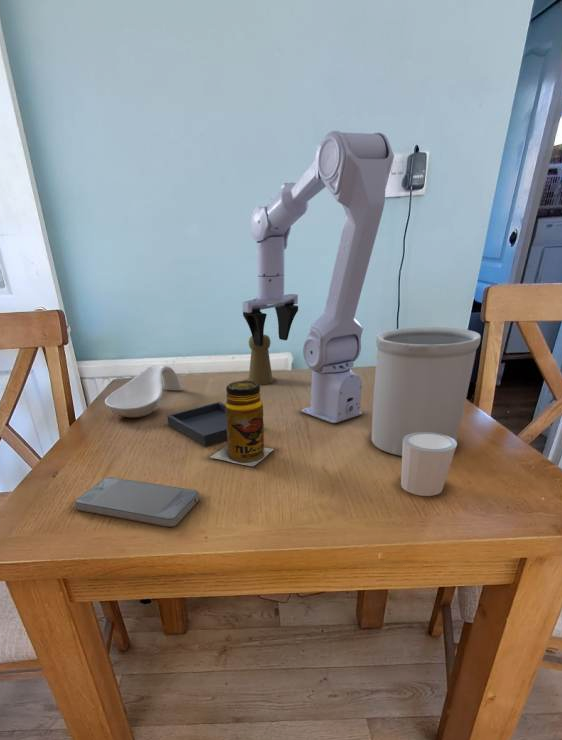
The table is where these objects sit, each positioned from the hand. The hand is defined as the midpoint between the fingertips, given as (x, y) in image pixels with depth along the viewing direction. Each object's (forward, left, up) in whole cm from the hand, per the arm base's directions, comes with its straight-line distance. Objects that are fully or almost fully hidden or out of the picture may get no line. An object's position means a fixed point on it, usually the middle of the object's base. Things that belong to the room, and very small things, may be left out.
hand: (271, 342), depth 104 cm
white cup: (-52, +14, -11) cm, 55 cm away
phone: (-31, +48, -11) cm, 58 cm away
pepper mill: (+7, -2, -11) cm, 13 cm away
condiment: (-26, +27, -11) cm, 39 cm away
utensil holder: (-41, +2, -11) cm, 43 cm away
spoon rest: (+9, +28, -11) cm, 31 cm away
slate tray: (-12, +24, -10) cm, 29 cm away
